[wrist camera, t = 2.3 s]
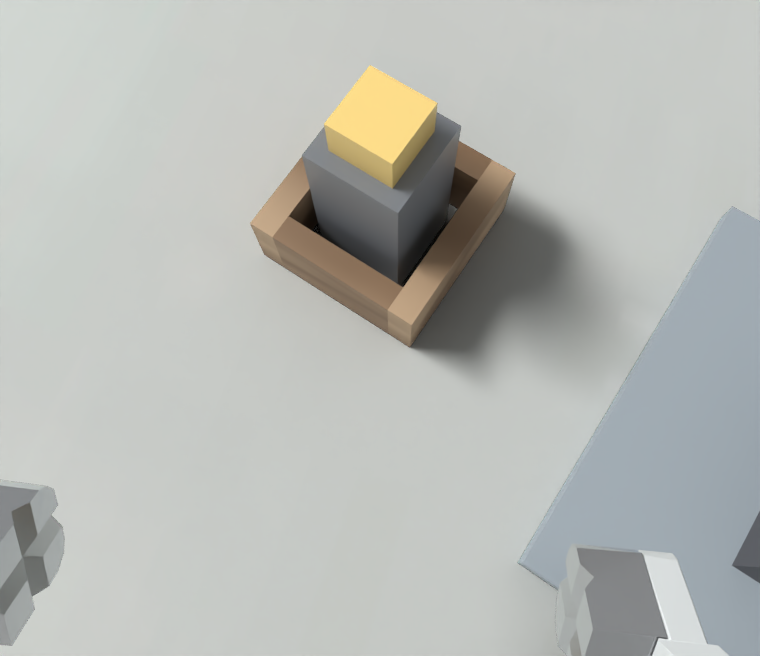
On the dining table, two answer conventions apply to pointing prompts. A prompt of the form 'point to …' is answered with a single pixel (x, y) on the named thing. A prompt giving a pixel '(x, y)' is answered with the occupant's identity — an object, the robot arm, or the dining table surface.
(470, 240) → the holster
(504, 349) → the dining table surface
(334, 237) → the plug
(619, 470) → the port
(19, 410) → the dining table surface
